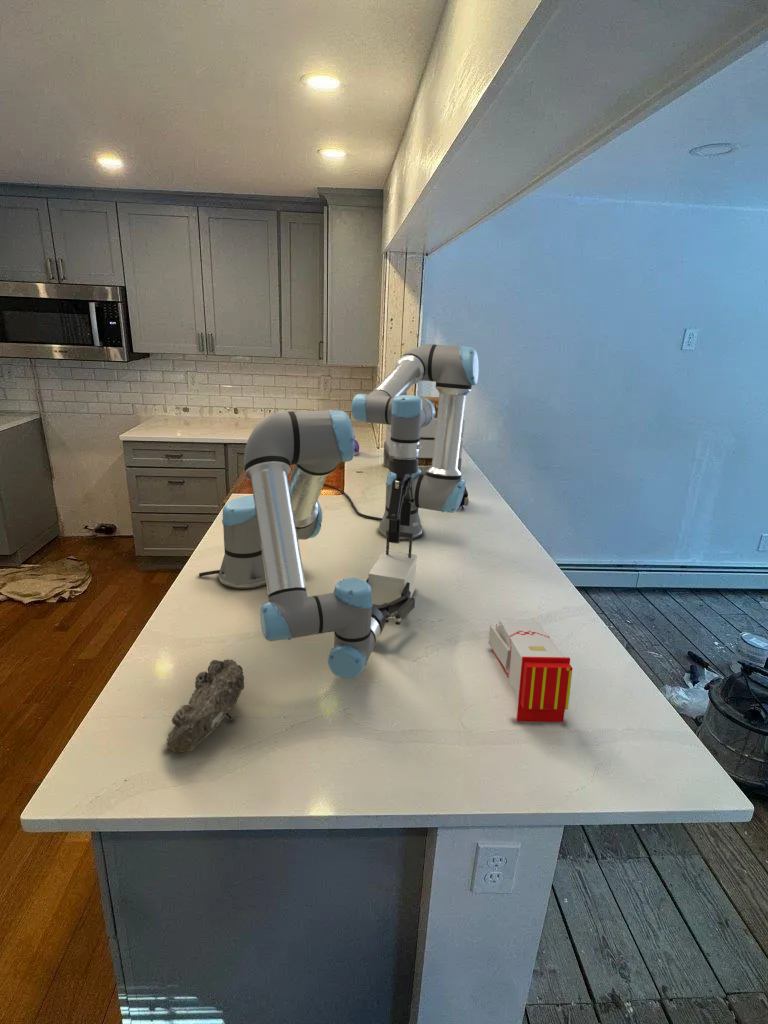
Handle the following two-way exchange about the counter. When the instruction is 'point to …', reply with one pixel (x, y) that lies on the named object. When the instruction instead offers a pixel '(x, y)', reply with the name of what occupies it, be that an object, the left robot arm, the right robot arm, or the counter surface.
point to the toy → (533, 669)
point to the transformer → (423, 440)
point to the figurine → (355, 444)
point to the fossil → (206, 705)
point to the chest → (390, 588)
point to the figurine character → (464, 499)
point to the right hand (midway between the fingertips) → (399, 533)
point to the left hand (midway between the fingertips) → (388, 584)
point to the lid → (394, 562)
